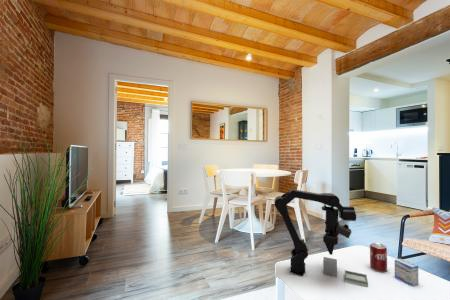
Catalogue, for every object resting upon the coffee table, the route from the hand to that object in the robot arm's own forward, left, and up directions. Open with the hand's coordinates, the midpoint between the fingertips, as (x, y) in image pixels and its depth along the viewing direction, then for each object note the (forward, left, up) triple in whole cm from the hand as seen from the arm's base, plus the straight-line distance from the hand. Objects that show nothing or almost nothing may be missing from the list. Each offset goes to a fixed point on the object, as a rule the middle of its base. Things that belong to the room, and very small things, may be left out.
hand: (331, 250), depth 112 cm
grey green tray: (+10, 0, -12) cm, 16 cm away
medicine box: (+31, +10, -12) cm, 35 cm away
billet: (-1, +1, -12) cm, 12 cm away
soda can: (+21, +17, -12) cm, 30 cm away
